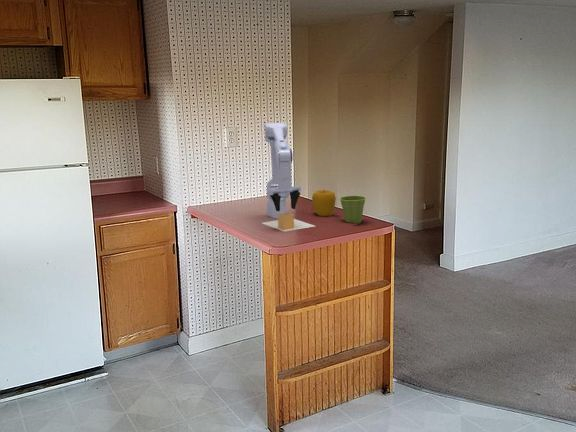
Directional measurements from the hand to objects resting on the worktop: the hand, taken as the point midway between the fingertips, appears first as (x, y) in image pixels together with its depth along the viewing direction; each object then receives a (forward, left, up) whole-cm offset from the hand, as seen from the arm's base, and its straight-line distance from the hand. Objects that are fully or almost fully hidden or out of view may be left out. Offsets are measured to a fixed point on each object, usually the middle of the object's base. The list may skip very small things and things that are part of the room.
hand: (285, 209), depth 244 cm
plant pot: (+6, +31, -9) cm, 33 cm away
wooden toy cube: (0, 0, -8) cm, 8 cm away
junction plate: (-5, +4, -9) cm, 11 cm away
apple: (-12, +28, -9) cm, 32 cm away
